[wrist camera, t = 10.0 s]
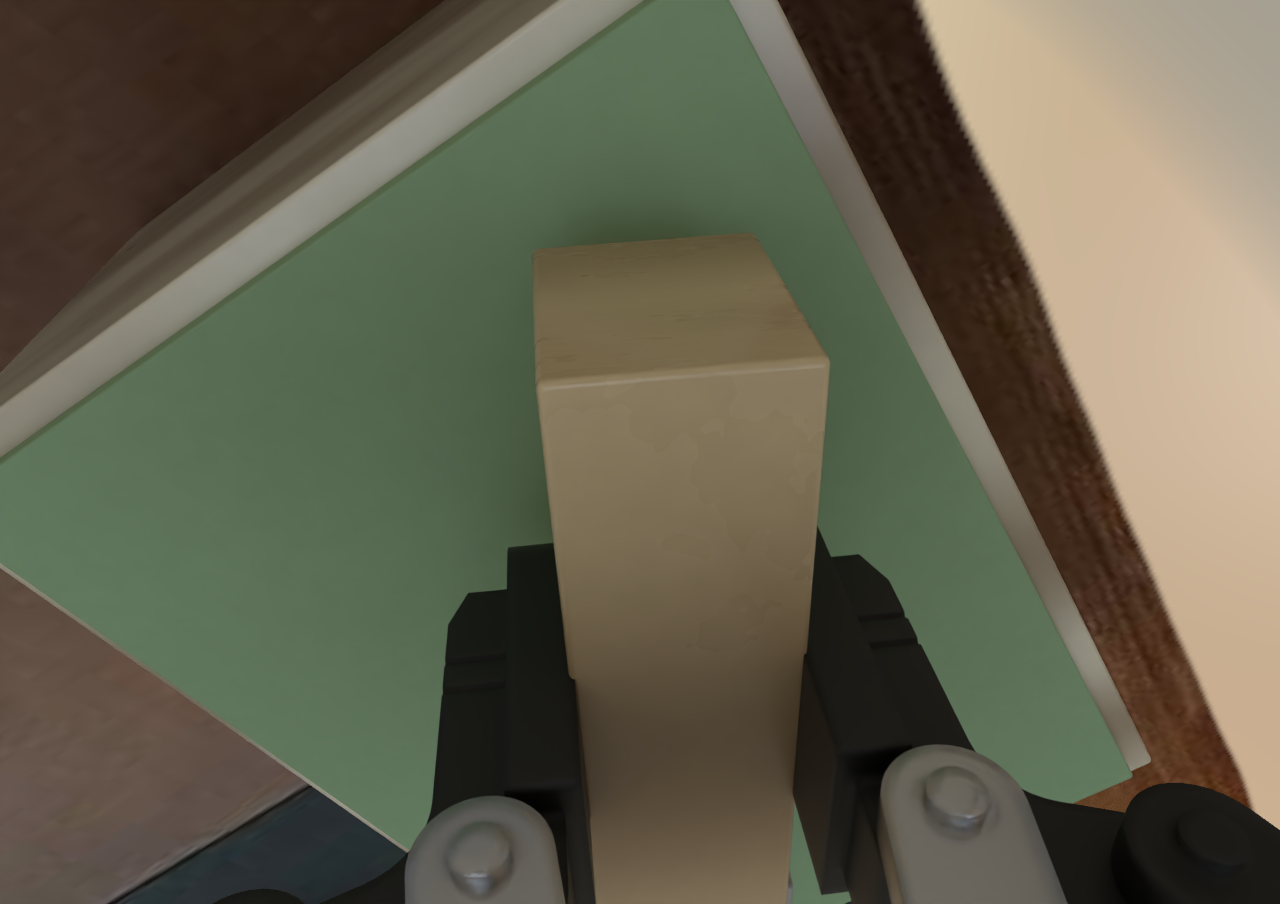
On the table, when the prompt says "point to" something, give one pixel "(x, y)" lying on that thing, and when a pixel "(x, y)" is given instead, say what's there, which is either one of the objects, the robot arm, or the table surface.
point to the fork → (682, 552)
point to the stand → (399, 137)
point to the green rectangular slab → (502, 436)
